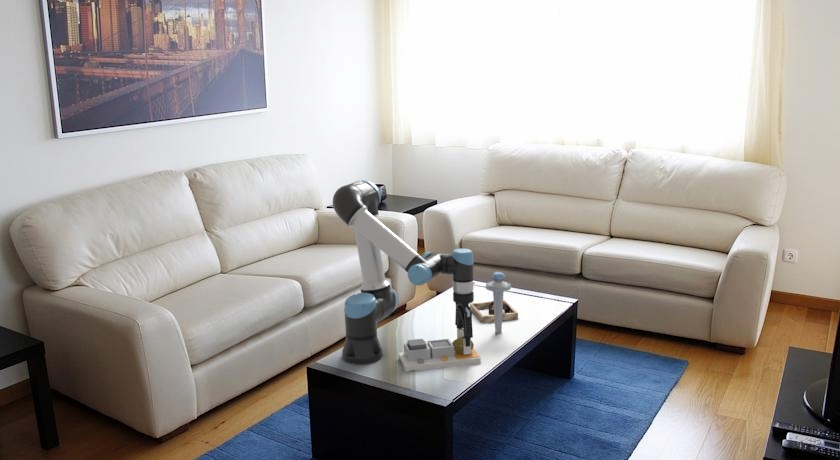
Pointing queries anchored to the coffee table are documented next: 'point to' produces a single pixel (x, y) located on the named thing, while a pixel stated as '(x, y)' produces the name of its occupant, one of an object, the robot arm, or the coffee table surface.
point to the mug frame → (489, 318)
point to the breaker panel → (436, 357)
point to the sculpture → (458, 343)
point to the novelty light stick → (498, 297)
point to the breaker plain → (416, 344)
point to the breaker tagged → (440, 344)
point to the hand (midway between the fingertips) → (464, 349)
